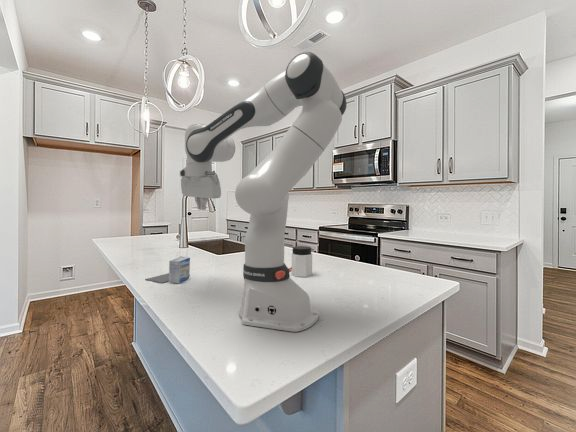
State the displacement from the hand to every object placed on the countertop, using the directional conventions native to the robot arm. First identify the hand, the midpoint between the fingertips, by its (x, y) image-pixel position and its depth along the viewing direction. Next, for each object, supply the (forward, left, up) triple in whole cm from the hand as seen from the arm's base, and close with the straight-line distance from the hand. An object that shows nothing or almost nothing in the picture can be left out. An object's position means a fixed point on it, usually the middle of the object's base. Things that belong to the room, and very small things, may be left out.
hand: (201, 209), depth 109 cm
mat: (+21, -2, -29) cm, 35 cm away
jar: (-25, -34, -29) cm, 51 cm away
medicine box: (+13, -1, -29) cm, 32 cm away
